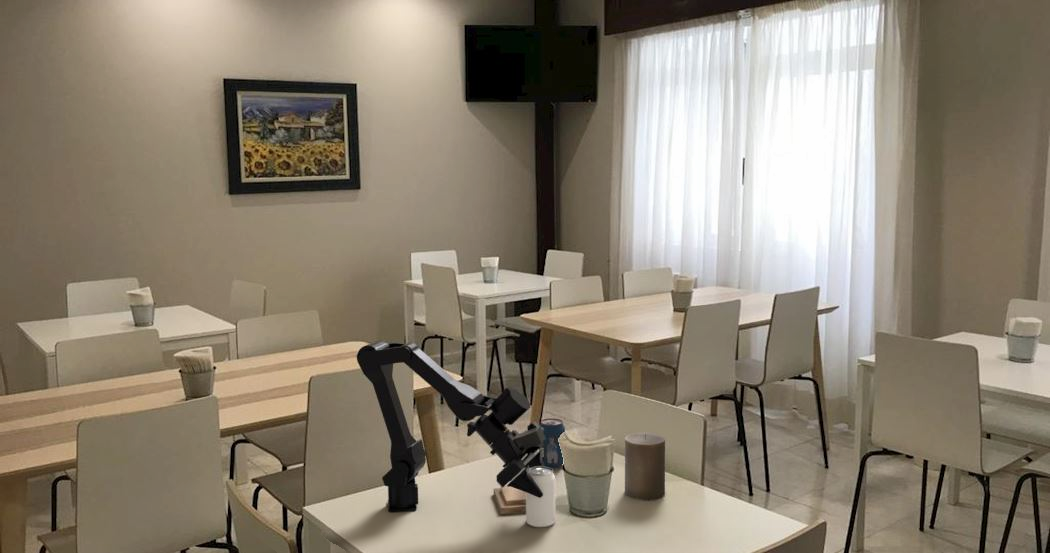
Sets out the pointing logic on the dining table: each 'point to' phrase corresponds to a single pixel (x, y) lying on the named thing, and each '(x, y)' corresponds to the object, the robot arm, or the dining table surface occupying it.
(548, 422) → the soda can
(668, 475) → the dining table surface
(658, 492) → the pillar candle
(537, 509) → the can
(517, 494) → the plinth
